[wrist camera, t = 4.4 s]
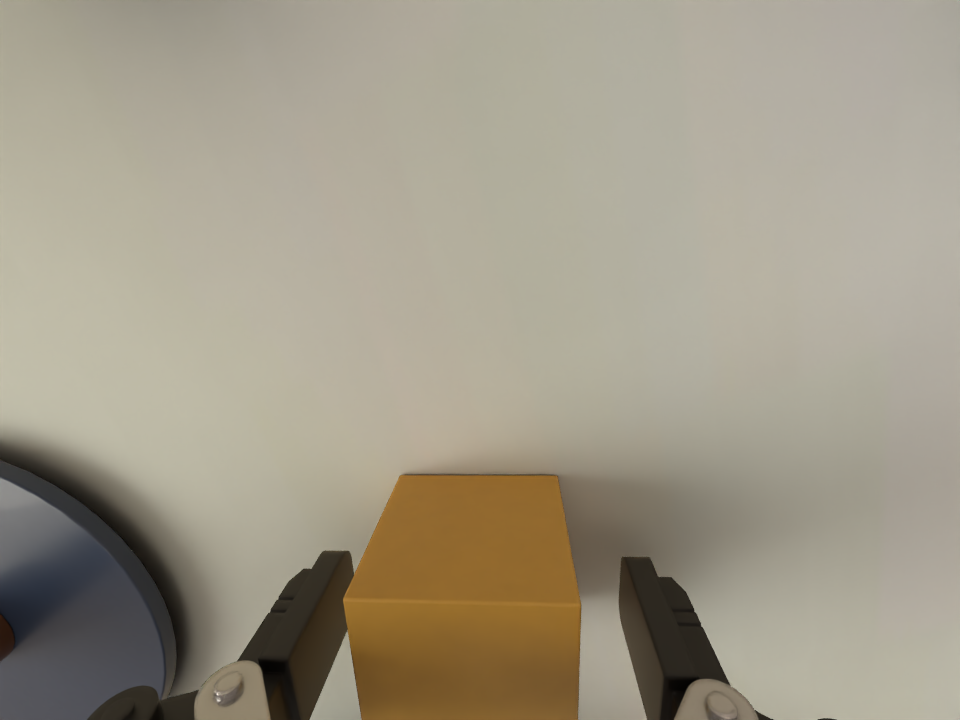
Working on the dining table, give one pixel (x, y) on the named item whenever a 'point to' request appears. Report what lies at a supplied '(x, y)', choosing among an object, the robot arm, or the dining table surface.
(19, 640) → the lid
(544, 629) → the block
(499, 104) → the dining table surface
